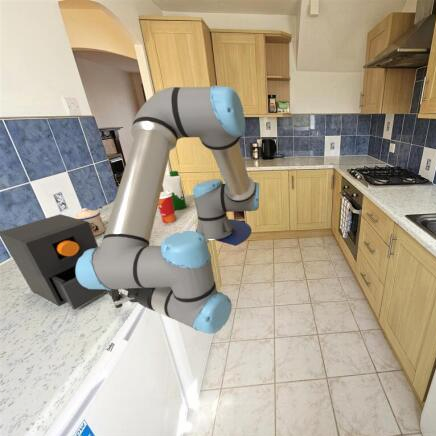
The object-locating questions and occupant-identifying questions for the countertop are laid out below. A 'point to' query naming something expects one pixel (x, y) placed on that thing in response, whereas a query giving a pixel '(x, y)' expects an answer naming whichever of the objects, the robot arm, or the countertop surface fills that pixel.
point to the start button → (67, 248)
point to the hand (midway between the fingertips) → (101, 269)
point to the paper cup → (166, 207)
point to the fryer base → (43, 284)
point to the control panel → (47, 243)
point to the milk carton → (175, 189)
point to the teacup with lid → (92, 220)
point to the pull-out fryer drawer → (73, 289)
